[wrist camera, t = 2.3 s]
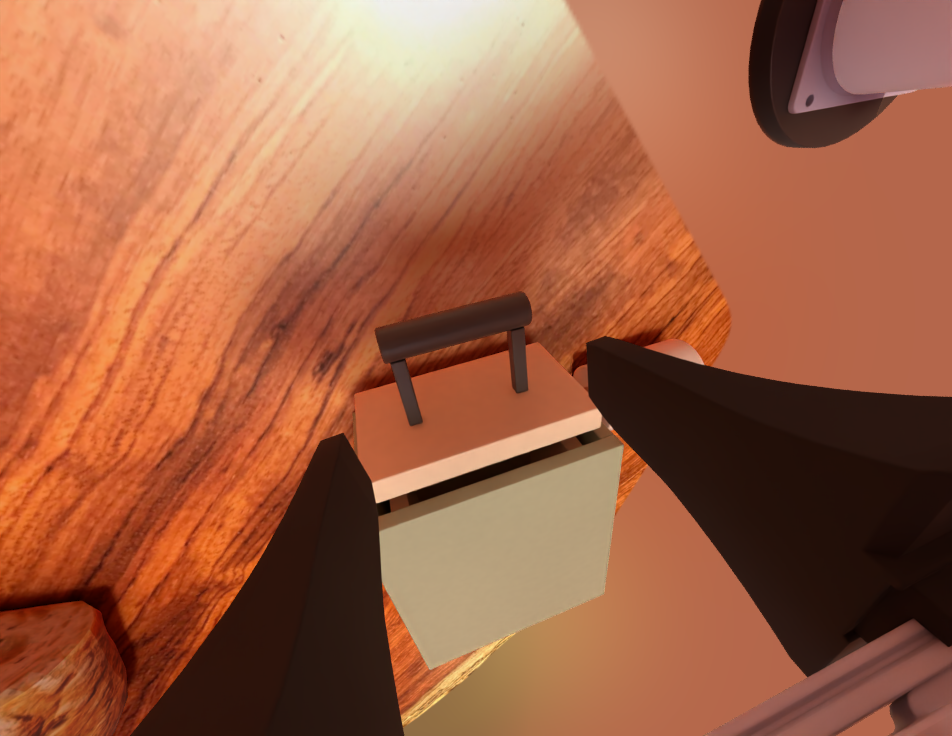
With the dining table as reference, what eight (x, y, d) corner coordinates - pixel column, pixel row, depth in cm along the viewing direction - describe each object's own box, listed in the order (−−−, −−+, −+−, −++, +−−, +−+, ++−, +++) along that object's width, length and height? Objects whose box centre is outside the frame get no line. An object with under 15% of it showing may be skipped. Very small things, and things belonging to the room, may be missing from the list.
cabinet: (351, 412, 20) (357, 539, 14) (542, 356, 22) (624, 444, 16) (408, 547, 28) (429, 670, 21) (547, 496, 30) (604, 594, 23)
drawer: (319, 308, 16) (311, 385, 11) (535, 257, 18) (611, 304, 13) (409, 533, 26) (427, 630, 20) (544, 485, 27) (590, 562, 22)
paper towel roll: (564, 366, 24) (597, 366, 20) (652, 340, 25) (699, 335, 21) (580, 427, 24) (616, 439, 20) (666, 398, 26) (716, 404, 22)
